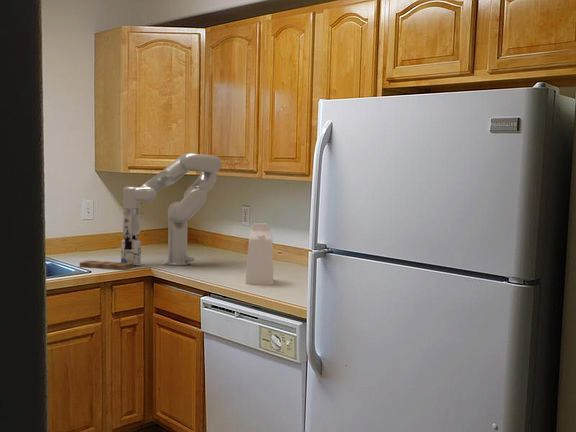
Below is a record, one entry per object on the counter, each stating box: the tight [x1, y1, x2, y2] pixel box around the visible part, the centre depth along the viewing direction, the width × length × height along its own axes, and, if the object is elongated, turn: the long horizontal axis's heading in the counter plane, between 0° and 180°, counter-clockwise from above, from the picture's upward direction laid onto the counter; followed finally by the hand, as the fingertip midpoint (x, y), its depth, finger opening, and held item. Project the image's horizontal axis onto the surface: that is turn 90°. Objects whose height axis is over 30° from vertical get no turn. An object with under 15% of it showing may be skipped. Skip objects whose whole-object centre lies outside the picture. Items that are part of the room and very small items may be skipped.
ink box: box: [120, 239, 142, 266], centre depth 298 cm, size 9×5×12 cm, turn 73°
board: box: [79, 259, 134, 271], centre depth 293 cm, size 24×8×2 cm, turn 78°
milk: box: [245, 222, 274, 286], centre depth 267 cm, size 12×12×26 cm
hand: (131, 248), depth 297 cm, fingers closed on ink box, 5 cm apart
